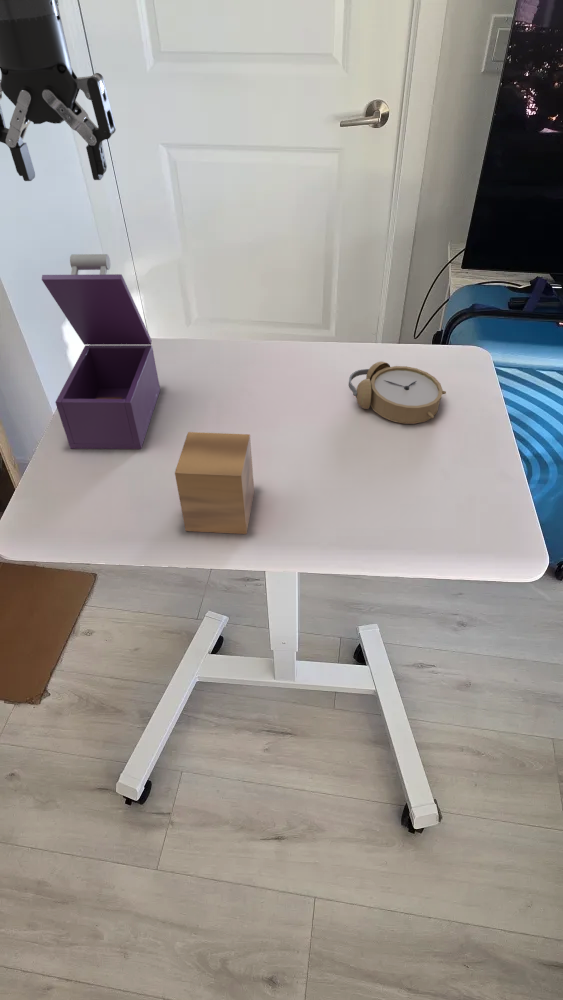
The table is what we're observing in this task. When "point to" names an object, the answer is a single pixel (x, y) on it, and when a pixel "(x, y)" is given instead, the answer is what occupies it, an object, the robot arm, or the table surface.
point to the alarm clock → (398, 392)
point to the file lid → (98, 303)
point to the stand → (216, 482)
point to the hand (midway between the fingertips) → (64, 178)
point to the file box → (109, 376)
